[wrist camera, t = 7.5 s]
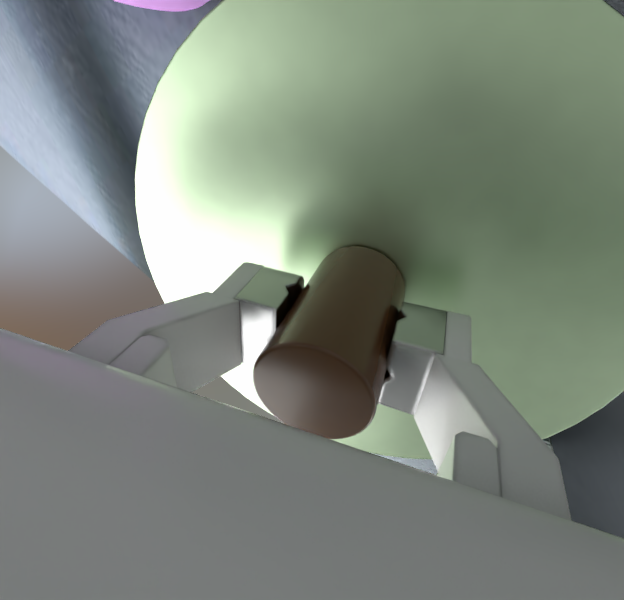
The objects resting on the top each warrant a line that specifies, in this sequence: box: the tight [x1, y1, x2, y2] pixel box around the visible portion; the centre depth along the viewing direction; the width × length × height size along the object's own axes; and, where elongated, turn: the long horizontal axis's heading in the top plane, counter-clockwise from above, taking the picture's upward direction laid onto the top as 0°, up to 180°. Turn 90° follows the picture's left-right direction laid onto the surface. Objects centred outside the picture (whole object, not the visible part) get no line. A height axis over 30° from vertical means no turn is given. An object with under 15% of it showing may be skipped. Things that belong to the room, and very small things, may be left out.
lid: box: [135, 0, 624, 459], centre depth 9 cm, size 14×14×5 cm
